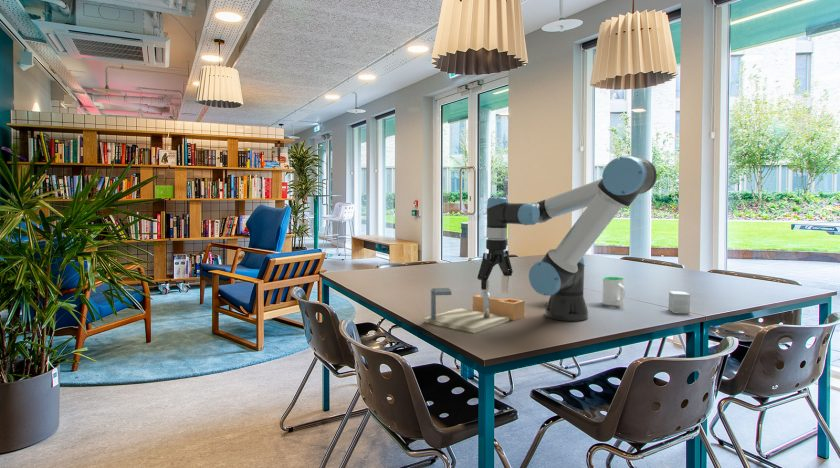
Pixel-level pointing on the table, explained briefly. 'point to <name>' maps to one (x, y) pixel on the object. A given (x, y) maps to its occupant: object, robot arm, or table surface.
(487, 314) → the post
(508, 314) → the link
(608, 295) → the mug
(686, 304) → the product box
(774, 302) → the table surface
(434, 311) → the keeper
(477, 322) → the board
